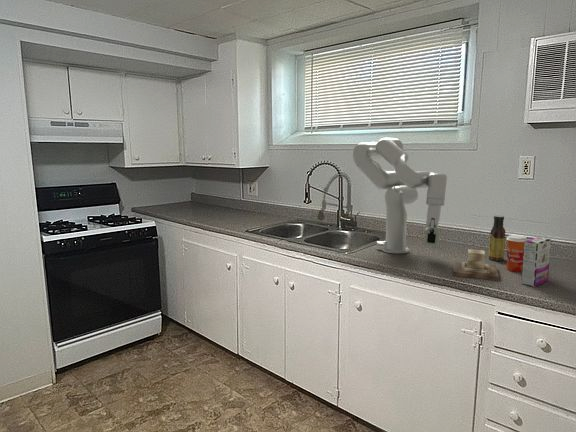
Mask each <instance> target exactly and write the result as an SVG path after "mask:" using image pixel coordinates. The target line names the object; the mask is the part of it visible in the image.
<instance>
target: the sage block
mask: <svg viewBox="0 0 576 432" xmlns="http://www.w3.org/2000/svg"><path fill="white" fill-rule="evenodd" d="M440 232H441V228H438V227H437V228H436V231H435V234H436V237H435V243H428V242H427V239H428V233H429V226H428V227H426V226H425V229H424V236H423V238H424V239H423V246H428V247H439V242H440V237H441V236H440V234H441V233H440Z"/></svg>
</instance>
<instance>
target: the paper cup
mask: <svg viewBox="0 0 576 432" xmlns="http://www.w3.org/2000/svg"><path fill="white" fill-rule="evenodd" d="M505 240H506V270H507V271H509V272H514V273H522V269H523V254H524V241H526V240H528V237H527V236H525V235H518V234H509V235H508V236H507V237H505Z"/></svg>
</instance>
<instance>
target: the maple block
mask: <svg viewBox="0 0 576 432" xmlns="http://www.w3.org/2000/svg"><path fill="white" fill-rule="evenodd" d="M485 253H486V252H485V250H482V249H469V248H468V249H467V260H466V261H467V268H471V269H482V270H484V264H485V259H486V254H485Z"/></svg>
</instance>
